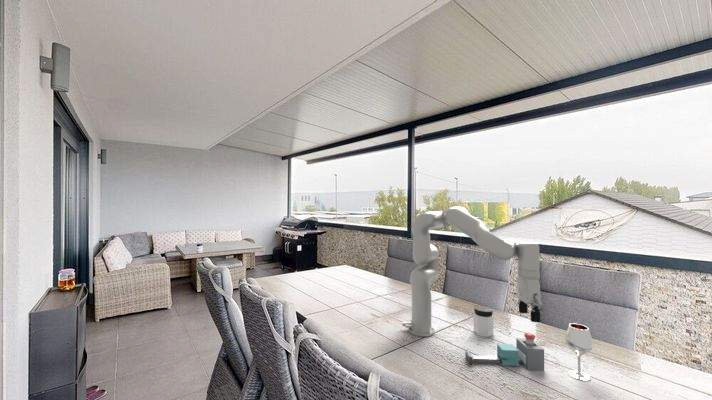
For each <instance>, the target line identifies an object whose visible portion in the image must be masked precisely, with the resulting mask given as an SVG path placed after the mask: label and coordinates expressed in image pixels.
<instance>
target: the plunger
mask: <svg viewBox="0 0 712 400" xmlns="http://www.w3.org/2000/svg"><path fill="white" fill-rule="evenodd" d="M523 335H524V338H526V345H527V346H534V341H535V339H536V336H535V334H534V333H531V332H525V333H524V334H523Z"/></svg>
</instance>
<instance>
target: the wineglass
mask: <svg viewBox="0 0 712 400" xmlns="http://www.w3.org/2000/svg"><path fill="white" fill-rule="evenodd" d="M564 341H565V343H566V345H567V346H568V347H569V349H571V350H572V352H574V354H576V356H577V370H574V369H573V370H572V369H571V370H569V371H568V375H569V376H571V378H573V379H576V380H579V381H582V382H583V381H584V382H588V381H590V380H591V377H590V375H588V374H587V373H585V372H583V371H581V358H582V356H583V355H586V354H588V353H590V352H591V351H592V350H593V348H594V342H593V339H592V334H591V332H590V329H589V327H588V326H586V325H583V324H580V323H569V324H568V327H567V330H566V333H565V340H564Z"/></svg>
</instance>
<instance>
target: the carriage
mask: <svg viewBox="0 0 712 400" xmlns="http://www.w3.org/2000/svg"><path fill="white" fill-rule="evenodd" d="M496 347H497V348H496V351H497V352H496V356H499V357H500V358H501V359H502V366H515V367H516V366H520V365H519V351H518V350H517V349H516V346H515V345H514V344H507V343H497V344H496Z"/></svg>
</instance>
